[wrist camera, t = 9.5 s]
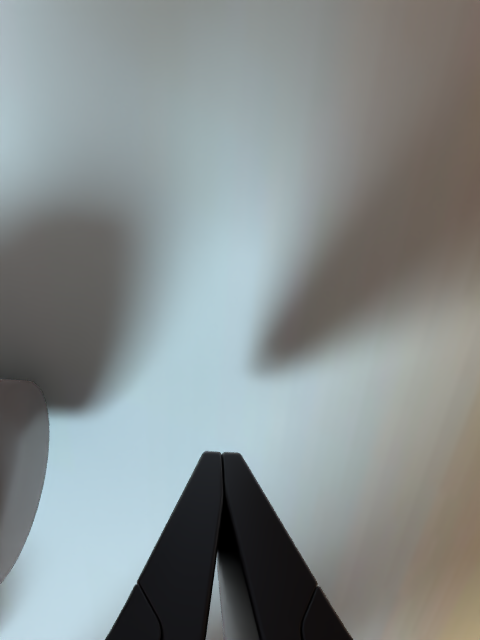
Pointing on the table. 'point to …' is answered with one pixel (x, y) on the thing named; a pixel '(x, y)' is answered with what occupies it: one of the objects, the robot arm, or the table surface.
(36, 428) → the white and gray knob
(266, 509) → the robot arm
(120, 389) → the table surface
